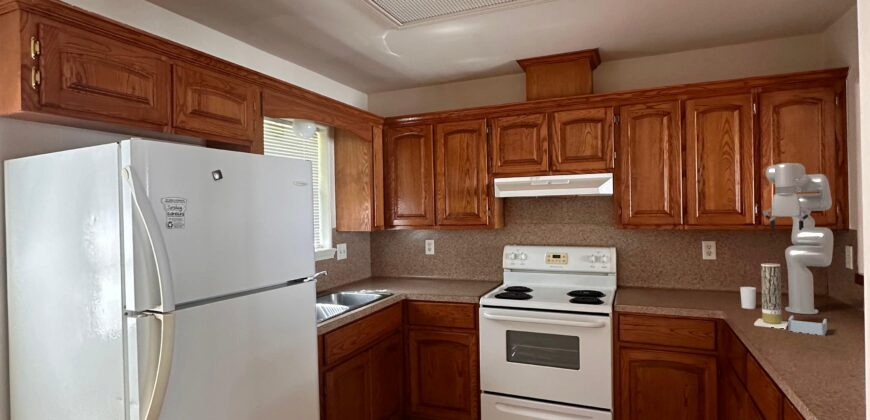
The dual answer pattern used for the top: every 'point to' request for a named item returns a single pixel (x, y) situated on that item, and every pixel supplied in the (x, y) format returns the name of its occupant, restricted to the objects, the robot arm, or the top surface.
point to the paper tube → (771, 293)
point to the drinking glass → (748, 297)
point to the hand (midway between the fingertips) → (786, 229)
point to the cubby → (807, 326)
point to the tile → (764, 324)
